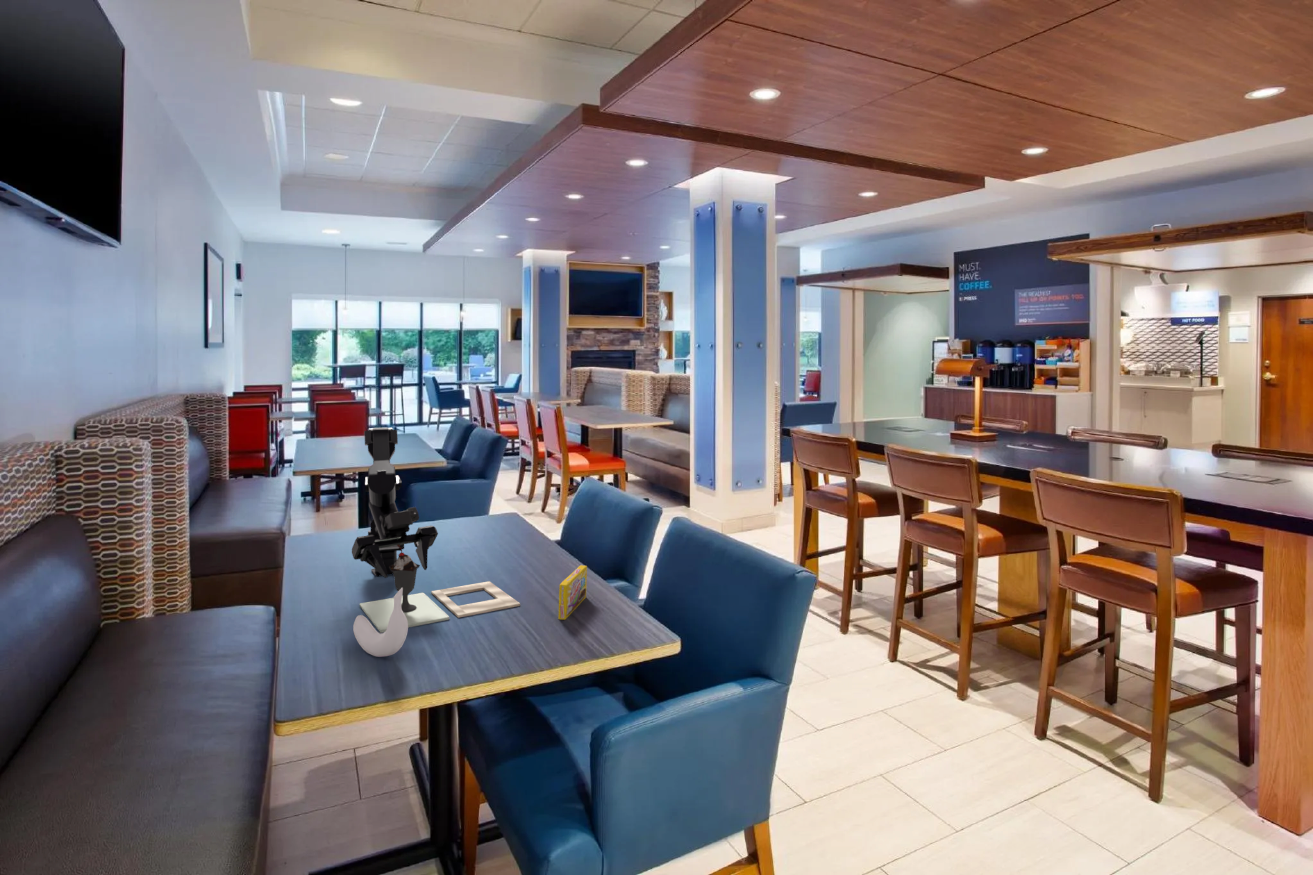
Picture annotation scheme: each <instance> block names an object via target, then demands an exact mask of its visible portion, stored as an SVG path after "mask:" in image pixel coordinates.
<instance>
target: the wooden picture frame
mask: <svg viewBox="0 0 1313 875" xmlns="http://www.w3.org/2000/svg"><path fill="white" fill-rule="evenodd" d="M477 591H485V592H486V593H488V595H490V596H491V597H493V598H494V599H488V600H482V601H478V602H472V603H467V604H461V605H458V604H456V603H455V602H454V601H453V600H452V599H450V597H449V596H455V595H461V594H467V593H472V592H477ZM430 593H431V595H433V597H434V598H436V600H438V601H439V602H441V604H443V605H444V606H445V608H447V609H448V610H449V611H450V612H451V613H452V614H454V615H455V617H457V618H458V619H459V618H463V617H469V616H474V615H479V614H485V613H490V612H494V611H500V610H506V609H509V608H510V609H511V608H514V607H520V606H521V603H520V602H519V601H517V600H516V599H515V598H513V597H512V596H510V595H509V594H508V593H506V592H505V591H503V590H502V589H501V588H499V587H498V586H497V585H495V584H494V583H492V582H491V581H490V580H489V581H485V582H484V581H483V582H477V583H472V584H465V585H461V586H454V587H448V588H442V589H436V590H431V592H430Z"/></svg>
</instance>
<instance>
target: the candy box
mask: <svg viewBox="0 0 1313 875" xmlns="http://www.w3.org/2000/svg"><path fill="white" fill-rule="evenodd" d="M587 574H588V566H587V565H582V564H580V565H579V566H578V567H577V568H575V570H573V571H572V573H570V574H569V575H568V576H567V577H566V578H564V580H562V581H561V583H560V584H559V587H558V588H559V589H558V591H559V592H558V617H557V619H558V620H559V621H560V620H561V621H563V620H564V621H565V620H567V619H568V617H570V615H571V614H573V612H574V611H575V610H576V609H577V608H578V606H580V605H581V603H582V602H583V601H584V600H585V599H586V598H587V581H588V580H587V579H588V578H587V577H588V575H587Z"/></svg>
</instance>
